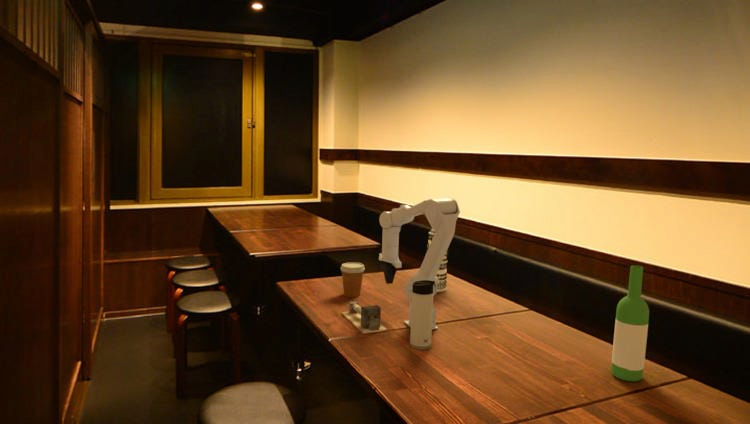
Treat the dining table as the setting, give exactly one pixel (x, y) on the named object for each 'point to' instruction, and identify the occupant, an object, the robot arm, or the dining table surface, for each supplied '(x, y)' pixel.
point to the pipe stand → (355, 319)
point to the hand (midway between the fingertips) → (389, 283)
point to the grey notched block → (369, 314)
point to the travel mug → (421, 314)
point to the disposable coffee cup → (352, 278)
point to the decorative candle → (442, 269)
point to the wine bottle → (630, 331)
